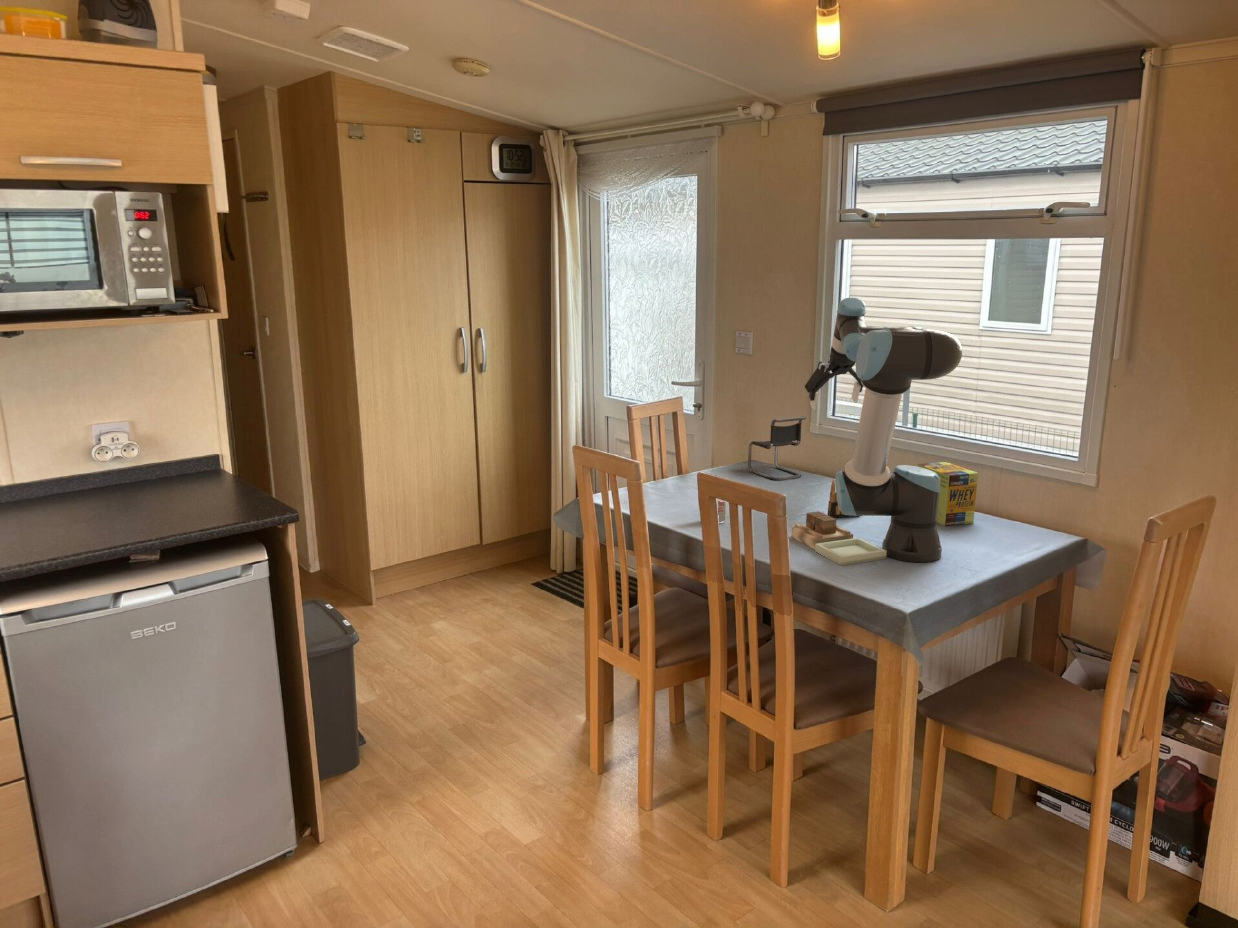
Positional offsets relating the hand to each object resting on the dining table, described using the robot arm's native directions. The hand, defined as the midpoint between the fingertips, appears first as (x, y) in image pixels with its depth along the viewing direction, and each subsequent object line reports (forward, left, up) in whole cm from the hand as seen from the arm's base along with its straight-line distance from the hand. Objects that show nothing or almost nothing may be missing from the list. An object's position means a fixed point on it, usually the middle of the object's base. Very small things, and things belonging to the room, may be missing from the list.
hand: (833, 403), depth 279 cm
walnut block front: (-30, +22, -30) cm, 48 cm away
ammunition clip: (-12, +2, -33) cm, 35 cm away
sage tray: (-42, +22, -33) cm, 58 cm away
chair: (+42, -7, -33) cm, 54 cm away
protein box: (-24, -25, -33) cm, 48 cm away
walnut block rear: (-26, +22, -30) cm, 45 cm away
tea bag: (-2, +42, -33) cm, 54 cm away
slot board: (-29, +22, -33) cm, 49 cm away
